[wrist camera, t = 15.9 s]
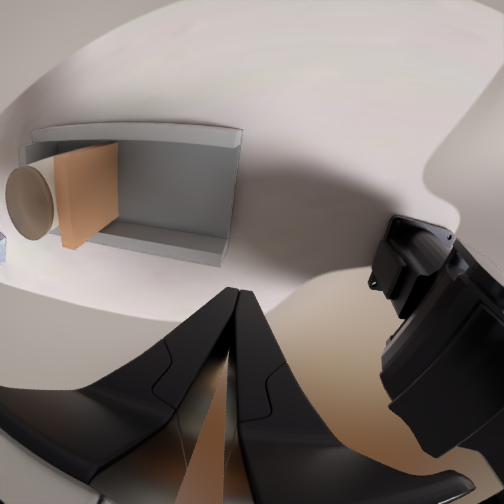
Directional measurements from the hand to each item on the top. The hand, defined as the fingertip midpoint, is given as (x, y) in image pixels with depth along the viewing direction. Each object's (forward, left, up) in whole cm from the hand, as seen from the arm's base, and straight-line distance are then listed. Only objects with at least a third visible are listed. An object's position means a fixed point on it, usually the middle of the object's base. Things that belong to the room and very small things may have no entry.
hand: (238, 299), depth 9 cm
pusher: (+12, 0, -11) cm, 16 cm away
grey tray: (+10, 0, -12) cm, 16 cm away
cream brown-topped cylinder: (+15, 0, -11) cm, 19 cm away
